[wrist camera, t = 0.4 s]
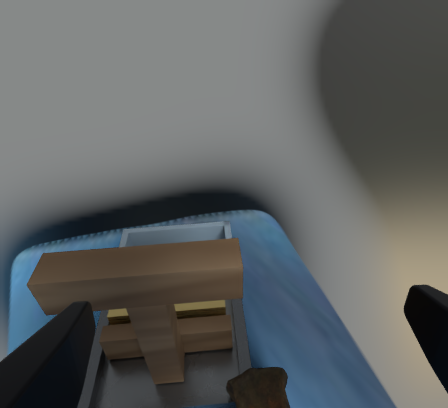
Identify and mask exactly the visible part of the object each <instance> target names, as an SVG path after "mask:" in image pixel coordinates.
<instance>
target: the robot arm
mask: <svg viewBox="0 0 448 408" xmlns="http://www.w3.org/2000/svg"><path fill="white" fill-rule="evenodd" d="M404 313H405V316H406V319H407V320H408V322H409V324H410V326H411V328H412V330H413V332H414V334H415V336H416V338H417V340H418V342H419V344H420V346H421V348H422V350H423V352H424V354H425V356H426V358H427V360H428V362H429V363H430V365H431V367H432V368H433V370H434V372H435V374H436V375H437V377H438V378H439V380H440V382H441V383H442V385H443V386H444V388H445V390H446V391H447V393H448V295H447V294H445V293H443V292H441V291H439V290H437V289H435V288H433V287H431V286H428V285H414V286H412V287H411V288H410V289H409V292H408V296H407V299H406V302H405V305H404ZM94 336H95V320H94V315H93V310H92V306H91V303H90V302H89V301H77V302H73V303H71V304H70V305H69V306H68V307H66V308H65V309H64V310H63V311H62V312H60V313H59V314H58V315H57V316H55V317H54V318H53V319H52V320H51V321H49V322H48V323H47V324H46V325H44V326H43V327H42V328H41V329H40V330H38V331H37V332H36V333H35V334H34V335H32V336H31V337H30V338H29V339H27V340H26V341H25V342H24V343H23V344H21V345H20V346H19V347H18V348H16V349H15V350H14V351H13V352H12V353H10V354H9V355H8V356H7V357H6V358H4V359H3V360H2V361H1V362H0V408H77V407H78V404H79V401H80V397H81V394H82V391H83V386H84V382H85V378H86V373H87V368H88V364H89V359H90V354H91V350H92V345H93V340H94Z"/></svg>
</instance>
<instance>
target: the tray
mask: <svg viewBox="0 0 448 408" xmlns="http://www.w3.org/2000/svg"><path fill="white" fill-rule="evenodd" d="M230 238H232V236H231V229H230V221H224V222H211V223H199V224H186V225H173V226H160V227H147V228H134V229H123V233H122V237H121V241H120V245H119V247H129V246H142V245H154V244H167V243H180V242H192V241H205V240H217V239H230Z"/></svg>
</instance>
